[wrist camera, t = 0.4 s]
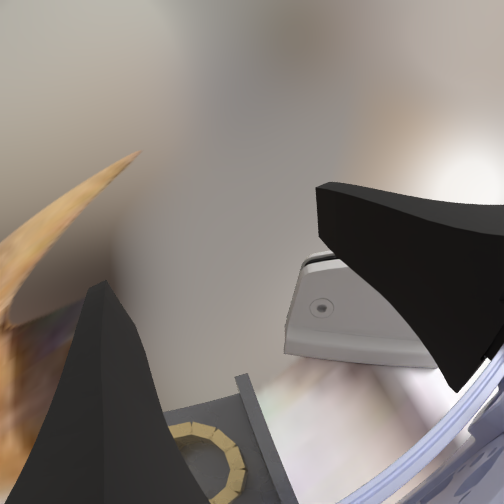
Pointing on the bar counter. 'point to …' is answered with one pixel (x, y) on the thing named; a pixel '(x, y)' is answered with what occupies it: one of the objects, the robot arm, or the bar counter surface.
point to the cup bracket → (231, 449)
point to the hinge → (347, 319)
